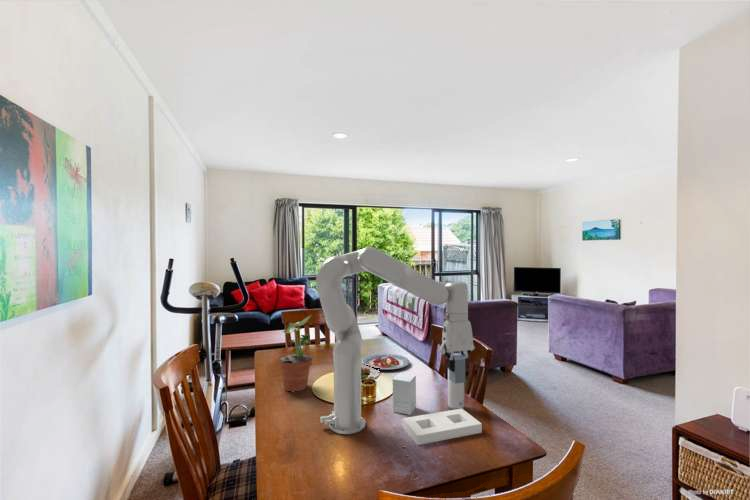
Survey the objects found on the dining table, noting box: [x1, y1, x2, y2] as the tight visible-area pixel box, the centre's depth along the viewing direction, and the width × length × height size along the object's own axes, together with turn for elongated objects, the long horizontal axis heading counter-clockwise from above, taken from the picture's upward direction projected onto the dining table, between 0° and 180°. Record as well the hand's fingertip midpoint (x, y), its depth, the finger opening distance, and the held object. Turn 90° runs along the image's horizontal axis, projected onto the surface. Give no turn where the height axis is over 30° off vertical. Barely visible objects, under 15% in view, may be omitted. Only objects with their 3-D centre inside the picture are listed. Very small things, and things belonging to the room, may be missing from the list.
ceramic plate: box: [361, 353, 410, 371], centre depth 188 cm, size 26×26×3 cm
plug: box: [449, 352, 467, 384], centre depth 120 cm, size 4×4×9 cm
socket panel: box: [401, 409, 483, 446], centre depth 118 cm, size 24×12×3 cm, turn 109°
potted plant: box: [279, 314, 313, 392], centre depth 156 cm, size 16×15×35 cm
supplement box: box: [391, 372, 417, 416], centre depth 134 cm, size 7×7×13 cm
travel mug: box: [447, 368, 465, 410], centre depth 135 cm, size 6×7×20 cm
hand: (457, 369), depth 120 cm, fingers closed on plug, 4 cm apart
